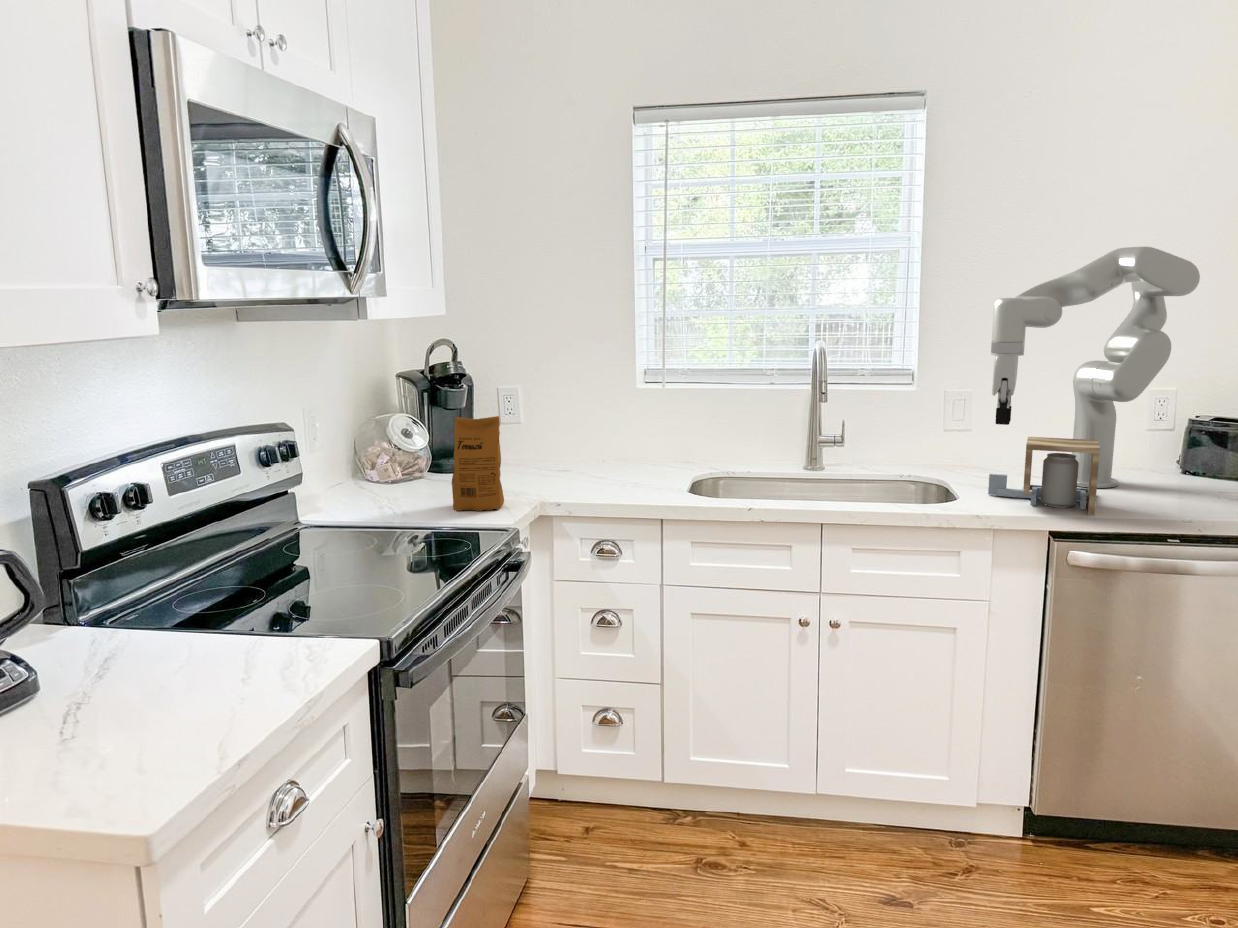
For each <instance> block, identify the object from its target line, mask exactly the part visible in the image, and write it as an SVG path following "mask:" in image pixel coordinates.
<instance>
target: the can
mask: <svg viewBox="0 0 1238 928" xmlns="http://www.w3.org/2000/svg"><path fill="white" fill-rule="evenodd" d="M1046 456H1047V457H1046V458H1045V459H1043V463H1042V477H1041V478H1042V479H1041V486H1042V488H1041V498H1040V501H1041V502H1042V504H1044V505H1045V504H1046V505H1045V506H1047V505H1048V507H1051V506H1052V507H1051V508H1053V507H1054V508H1061V507H1065V508H1070V507H1072V506H1073V505H1075V504H1076V502H1077V501H1076V493H1077V488H1078V486H1077V481H1078V468H1079V462H1078V461H1077V460H1076V459H1075V458H1076V455H1073V454H1072V453H1068V452H1050V453H1047V454H1046Z"/></svg>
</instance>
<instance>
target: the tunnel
mask: <svg viewBox="0 0 1238 928" xmlns="http://www.w3.org/2000/svg"><path fill="white" fill-rule="evenodd" d="M1025 444H1026V447H1025V461H1024V475H1023V488H1022V489H1023V495H1026V496H1029V490H1030V485H1031V480H1032V479H1031V477H1032V465H1033V463H1032V462H1033V451H1042V452H1043V451H1044V452H1046V451H1047V452H1059V453H1072V452H1079V453H1091V461H1090V474H1089V486H1088V487H1087V489H1088V499H1087V501H1086V508H1087V512H1088V513H1087V514H1088V516H1095V512H1096V503H1097V499H1096V498H1097V489H1098V488H1097V479H1098V466H1099V454H1100V446H1099V442H1098V440H1085V439H1073V438H1061V437H1041V436H1040V437H1039V436H1027V441H1026V443H1025Z"/></svg>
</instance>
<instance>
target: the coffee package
mask: <svg viewBox="0 0 1238 928" xmlns="http://www.w3.org/2000/svg"><path fill="white" fill-rule="evenodd" d="M500 426H501V421H500V416H499V415H497V416H490V417H489V416H488V417H480V418H469V417H468V418H467V417H460V416H459V417H458V416H455V418H454V428H453V429H454V430H453V431H454V451H453V463H454V464H453V467H454V469H453V473H452V479H451V487H452V489H451V490H452V491H451V492H452V503H453V504H452V508H453V510H454V511H455V510H456V511H455V512H462V511H463V510H464V511H474V510H475V512H483V511H482V510H488V511H494V510H493V509H497V510H500V509H501V508H502V506H503V505H504V503H505V497H504V492H503V491H504V490H503V487H502V483H501V482H502V481H501V465H502V464H501V463H502V453H501V443H500V434H501V432H500ZM477 510H478V511H477ZM479 510H480V511H479Z"/></svg>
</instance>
